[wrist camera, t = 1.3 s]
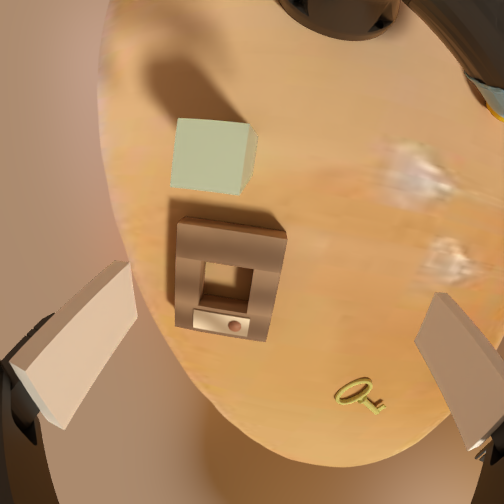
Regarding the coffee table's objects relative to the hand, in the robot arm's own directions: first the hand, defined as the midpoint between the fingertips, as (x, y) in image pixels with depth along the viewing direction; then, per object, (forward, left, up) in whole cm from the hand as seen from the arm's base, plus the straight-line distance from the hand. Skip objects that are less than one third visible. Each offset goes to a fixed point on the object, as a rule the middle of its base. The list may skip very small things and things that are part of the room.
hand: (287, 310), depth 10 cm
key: (+31, +22, -22) cm, 44 cm away
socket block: (+10, -4, -22) cm, 24 cm away
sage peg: (-5, -5, -22) cm, 23 cm away
